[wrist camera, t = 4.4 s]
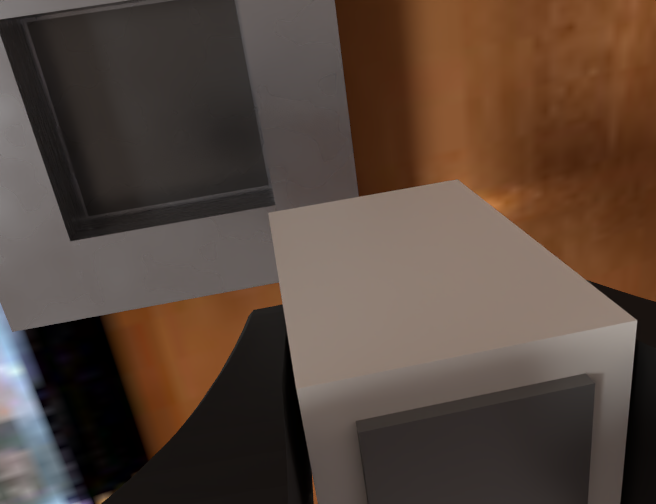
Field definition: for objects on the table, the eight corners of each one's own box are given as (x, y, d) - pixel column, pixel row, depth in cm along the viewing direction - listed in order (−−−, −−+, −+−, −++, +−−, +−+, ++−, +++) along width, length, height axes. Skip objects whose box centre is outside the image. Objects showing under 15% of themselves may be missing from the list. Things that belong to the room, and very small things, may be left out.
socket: (306, -122, 16) (317, -143, 14) (353, 237, 21) (367, 265, 19) (-99, -67, 16) (-157, -80, 13) (38, 295, 20) (12, 331, 18)
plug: (457, 179, 12) (648, 328, 7) (464, 340, 14) (623, 573, 8) (268, 212, 12) (298, 399, 6) (298, 374, 14) (344, 639, 8)
